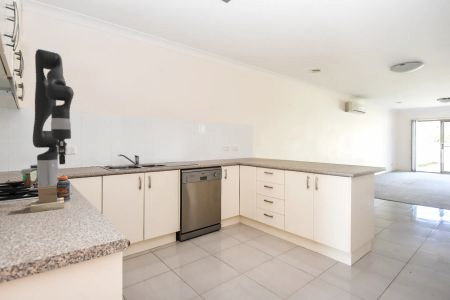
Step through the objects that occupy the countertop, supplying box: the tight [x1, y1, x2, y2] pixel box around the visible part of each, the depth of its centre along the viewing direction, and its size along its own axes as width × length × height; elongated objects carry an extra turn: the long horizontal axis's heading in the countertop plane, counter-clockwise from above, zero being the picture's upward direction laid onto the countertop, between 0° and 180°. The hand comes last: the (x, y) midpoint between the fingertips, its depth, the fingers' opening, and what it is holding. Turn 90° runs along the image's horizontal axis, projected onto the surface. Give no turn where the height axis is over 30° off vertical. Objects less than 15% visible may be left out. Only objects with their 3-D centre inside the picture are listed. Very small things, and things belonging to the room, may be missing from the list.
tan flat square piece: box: [29, 197, 65, 213], centre depth 101 cm, size 10×11×3 cm
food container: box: [20, 167, 38, 187], centre depth 150 cm, size 12×6×10 cm, turn 21°
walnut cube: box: [37, 185, 57, 204], centre depth 101 cm, size 6×6×6 cm
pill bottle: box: [55, 175, 72, 202], centre depth 112 cm, size 6×6×11 cm
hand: (62, 163), depth 112 cm, fingers open, 8 cm apart
